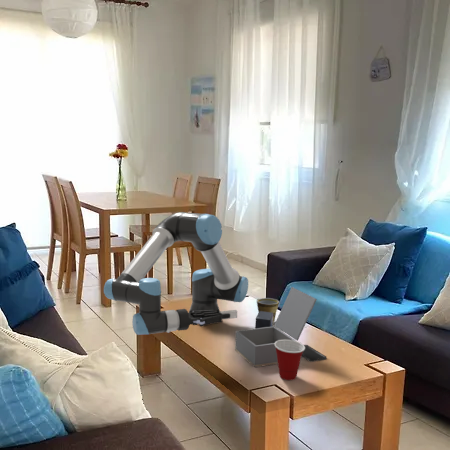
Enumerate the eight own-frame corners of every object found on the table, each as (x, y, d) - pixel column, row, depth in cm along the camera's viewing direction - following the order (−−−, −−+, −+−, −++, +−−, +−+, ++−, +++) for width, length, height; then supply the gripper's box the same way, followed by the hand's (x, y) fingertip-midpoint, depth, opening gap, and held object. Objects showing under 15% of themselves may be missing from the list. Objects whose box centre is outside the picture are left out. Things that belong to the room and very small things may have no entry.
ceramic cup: (282, 323, 259) (283, 302, 257) (265, 327, 253) (266, 305, 252) (264, 315, 270) (265, 295, 268) (248, 319, 264) (248, 298, 262)
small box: (270, 344, 232) (270, 319, 231) (254, 342, 234) (254, 318, 232) (273, 335, 243) (273, 311, 241) (257, 334, 244) (258, 310, 242)
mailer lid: (291, 286, 231) (293, 287, 231) (274, 325, 230) (275, 326, 230) (315, 298, 214) (317, 299, 214) (296, 340, 213) (298, 341, 214)
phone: (306, 344, 231) (327, 357, 217) (306, 347, 231) (327, 360, 217) (289, 346, 227) (310, 360, 214) (289, 349, 227) (310, 362, 214)
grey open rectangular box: (235, 350, 225) (235, 330, 223) (273, 345, 231) (274, 326, 230) (254, 367, 208) (255, 346, 207) (295, 361, 215) (296, 340, 213)
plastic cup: (296, 386, 193) (297, 352, 191) (267, 378, 198) (268, 345, 196) (309, 375, 202) (310, 343, 200) (281, 368, 207) (282, 337, 206)
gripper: (170, 324, 210) (229, 318, 219) (181, 336, 198) (243, 328, 207) (171, 305, 209) (229, 299, 218) (182, 315, 197) (244, 308, 206)
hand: (236, 313), depth 212 cm, fingers closed
